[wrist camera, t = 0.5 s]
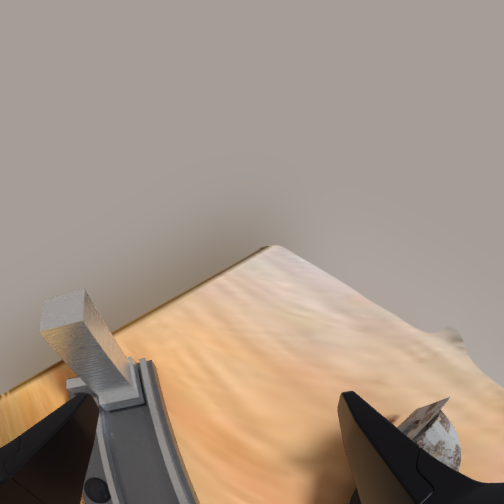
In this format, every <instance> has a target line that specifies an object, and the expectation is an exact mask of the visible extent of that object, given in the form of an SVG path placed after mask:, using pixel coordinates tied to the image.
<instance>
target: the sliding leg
mask: <svg viewBox="0 0 504 504" xmlns="http://www.w3.org/2000/svg"><path fill="white" fill-rule="evenodd" d="M39 332H40V333H41V334H42V336H43V337H44V338H45V339H46V341H47V342H48V343H49V344H50V346H51V347H52V348H53V349H54V350H55V351H56V352H57V354H58V355H59V356H60V357H61V358H62V359H63V360H64V362H65V363H66V364H67V365H68V366H69V367H70V368H71V369H72V370H73V371H74V372H75V373H76V374H77V375H78V376H79V377H78V378H73V379H67V380H66V389H67V390H68V391H70V392H71V393H73V394H74V395H77V394H79V393H80V392H83V391H89V390H93V391H94V392H95V393H96V394H97V395H98V397H99V405H100V406H101V407H103V408H104V409H105V410H106V411H109V410H115V409H120V408H125V407H130V406H134V405H139V404H143V403H145V401H144V397H143V392H142V387H141V383H140V377H139V372H138V367H137V364H136V362H135V361H134V359H133V358H132V357H128V358H127V357H126V355H125V354H124V352H123V351H122V350H121V348H120V347H119V345H118V343H117V342H116V340H115V339H114V337H113V336H112V334H111V333H110V331H109V329H108V328H107V326H106V325H105V323H104V321H103V320H102V318H101V316H100V314H99V313H98V311H97V309H96V308H95V306H94V304H93V302H92V300H91V299H90V297H89V295H88V293H87V291H86V289H81V290H78V291H75V292H71V293H67V294H64V295H61V296H57V297H53V298H50V299H47V300H45V301H44V307H43V312H42V317H41V324H40V330H39Z"/></svg>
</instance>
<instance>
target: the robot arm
mask: <svg viewBox="0 0 504 504" xmlns="http://www.w3.org/2000/svg"><path fill="white" fill-rule="evenodd" d="M99 412H100V410H99V407H98V405H97V403H96V402H95V400H94V398H93V396H92V395H91V394H90V393H85V392H80V393H79V394H77V395H76V396H75V397H73V398H72V399H70V400H69V401H68V402H66V403H65V404H64V405H62V406H61V407H59V408H58V409H57V410H55V411H54V412H52V413H51V414H50V415H48V416H47V417H45V418H44V419H43V420H41V421H40V422H38V423H37V424H35V425H34V426H33V427H31V428H30V429H28V430H27V431H26V432H24V433H23V434H21V435H20V436H18V437H17V438H16V439H14V440H13V441H11V442H10V443H8V444H6V445H5V446H3V447H1V448H0V504H80V501H81V496H82V491H83V486H84V482H85V478H86V473H87V469H88V465H89V461H90V457H91V454H92V450H93V446H94V441H95V435H96V429H97V424H98V418H99ZM338 417H339V422H340V427H341V432H342V438H343V443H344V448H345V452H346V455H347V458H348V461H349V465H350V468H351V471H352V474H353V477H354V480H355V484H356V487H357V490H358V493H359V497H360V500H361V503H362V504H504V483H483V482H478V481H475V480H473V479H471V478H469V477H467V476H465V475H463V474H461V473H459V472H458V471H456V470H454V469H452V468H450V467H449V466H447V465H445V464H444V463H442V462H441V461H439V460H437V459H436V458H435V457H433V456H432V455H430V454H429V453H428V452H426V451H425V450H424V449H423V448H421V447H419V445H418V444H416V443H415V442H414V441H413V440H411V439H410V438H409V437H408V436H406V435H405V434H404V433H403V432H401V431H400V430H399V429H398V428H397V427H395V426H394V425H393V424H392V423H391V422H389V421H388V420H387V419H386V418H384V417H383V416H382V415H381V414H380V413H379V412H377V411H376V410H375V409H374V408H373V407H371V406H370V405H369V404H368V403H367V402H366V401H364V400H363V399H362V398H361V397H360V396H359V395H357V394H356V393H355V392H354V391H348V392H343V393H341V395H340V399H339V404H338Z"/></svg>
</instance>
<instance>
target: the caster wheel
mask: <svg viewBox="0 0 504 504" xmlns="http://www.w3.org/2000/svg"><path fill="white" fill-rule="evenodd" d="M449 398H450V397H448V398H446V399H443V400H441V401H438V402H436V403H433V404H430V405H427V406H424V407H422V408H419V409H416V410H415V411H414V412H413V413H412V414H411V415H410V416H409V417H408V418H407V419H406V420H405V421H404V422H403V423H402V424H401V425H399V426H398V427H397V428H398V429H399V430H400V431H401V432H403V433H404V434H405V435H406V436H408V437H409V438H410V439H411V440H413V441H414V442H415V443H416V444H418V445H419V447H421V448H423V449H424V450H425V451H426V452H428V453H429V454H430V455H432V456H433V457H435V458H436V459H437V460H439V461H441V462H442V463H444V464H445V465H447V466H449V467H450V468H452V469H454V470H456V471H459V467H460V462H461V447H460V442H459V438H458V435H457V432H456V430H455V428H454V426H453V425H452V423H451V422H450V421H449V419H448V418H447V417H446V416H445V414H444V413H443V412H442V411H441V408H442V407H443V406H444V405H445V403H446V402H447V401H448V400H449ZM350 504H362V503H361V500H360V497H359V493H358V490H357V488H356V490H355V492H354V494H353V496H352V498H351V501H350Z"/></svg>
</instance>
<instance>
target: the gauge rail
mask: <svg viewBox="0 0 504 504" xmlns="http://www.w3.org/2000/svg"><path fill="white" fill-rule="evenodd" d="M139 360H140V363H138V364H137V367H138V372H139V377H140V383H141V387H142V392H143V397H144V401H145V403H143V404H139V405H134V406H130V407H125V408H120V409H115V410H109V411H106V410H105V409H104V408H103V407H101V406H100V405H99V397H98V395H97V394H96V393H95V392H94V391H93V390H89V391H83V392H85V393H90V394H91V395H92V396H93V398H94V400H95V402H96V403H97V405H98V407H99V410H100V412H99V418H98V424H97V429H96V435H95V441H94V446H93V450H92V454H91V457H90V461H89V465H88V469H87V473H86V478H85V482H84V486H83V491H82V492H83V496H84V500H85V504H200V502H199V500H198V498H197V495H196V493H195V491H194V488H193V486H192V483H191V481H190V478H189V475H188V473H187V470H186V468H185V465H184V462H183V459H182V456H181V454H180V451H179V448H178V445H177V442H176V439H175V436H174V433H173V429H172V426H171V423H170V419H169V416H168V413H167V409H166V406H165V402H164V398H163V394H162V391H161V387H160V383H159V379H158V374H157V370H156V367H155V365H154V363H153V362H152V360H150V361H147V360H146V359H145V358H143V359H139ZM75 378H78V377H75ZM70 379H73V378H70ZM75 396H76V395H74V394H73V393H71V392H70V391H69V400H70V399H72V398H73V397H75Z"/></svg>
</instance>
